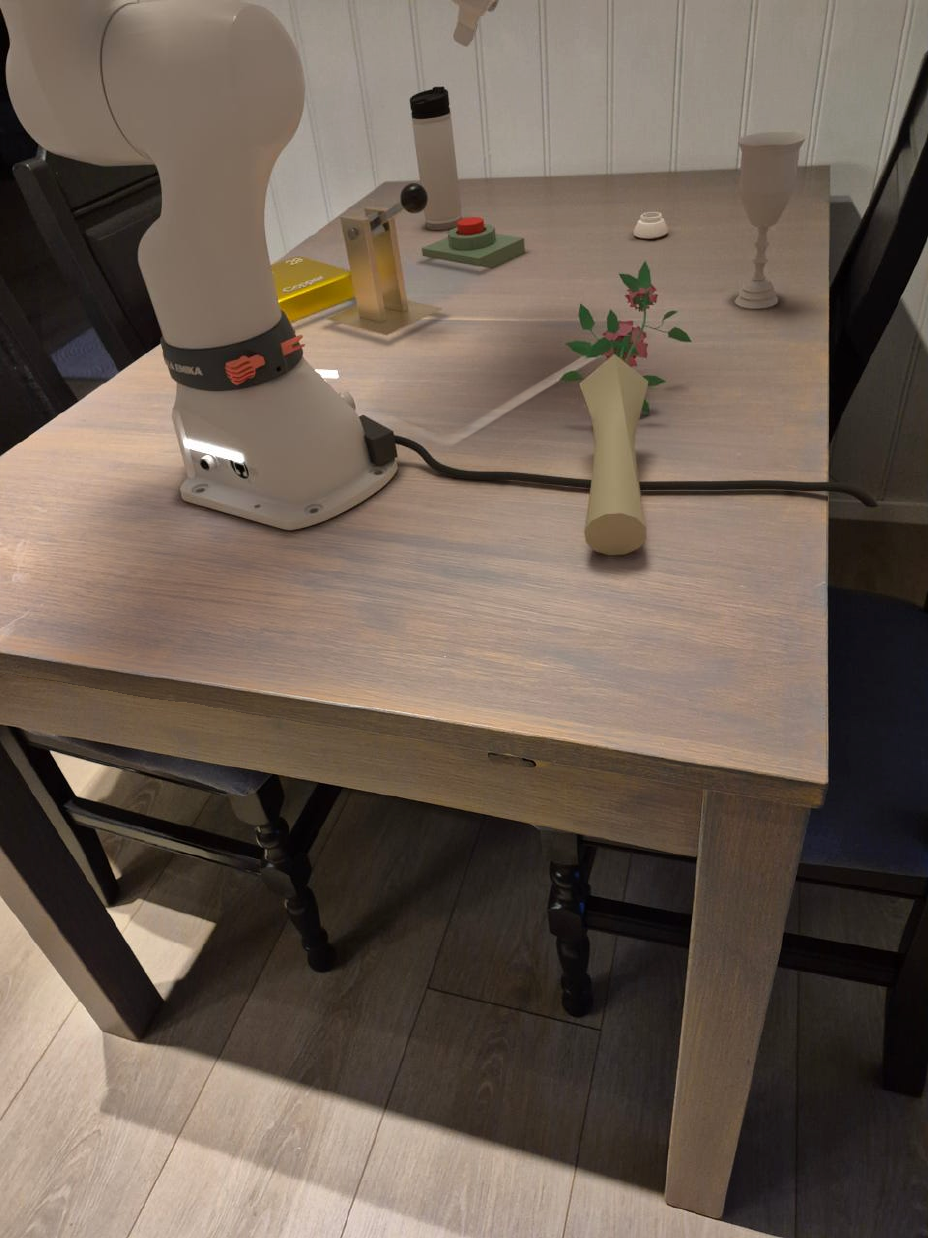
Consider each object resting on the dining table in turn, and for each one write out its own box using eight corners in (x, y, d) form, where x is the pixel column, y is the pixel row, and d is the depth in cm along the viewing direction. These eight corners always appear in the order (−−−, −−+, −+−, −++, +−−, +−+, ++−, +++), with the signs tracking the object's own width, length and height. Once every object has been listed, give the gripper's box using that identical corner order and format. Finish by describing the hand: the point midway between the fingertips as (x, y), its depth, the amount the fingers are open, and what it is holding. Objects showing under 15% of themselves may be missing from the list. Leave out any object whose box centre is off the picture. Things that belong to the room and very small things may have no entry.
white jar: (649, 242, 131) (674, 233, 133) (650, 221, 129) (675, 212, 131) (626, 236, 135) (651, 228, 136) (626, 216, 133) (651, 207, 135)
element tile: (273, 337, 118) (264, 301, 115) (219, 315, 128) (209, 281, 125) (363, 302, 125) (356, 267, 122) (305, 283, 135) (298, 250, 132)
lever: (437, 203, 103) (425, 175, 102) (417, 210, 101) (405, 182, 100) (378, 240, 113) (367, 215, 112) (359, 247, 111) (348, 222, 110)
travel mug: (470, 219, 151) (456, 85, 139) (449, 231, 147) (433, 94, 135) (440, 218, 154) (424, 86, 142) (419, 229, 150) (400, 95, 138)
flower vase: (578, 613, 78) (584, 367, 99) (719, 584, 73) (693, 332, 94) (527, 526, 70) (545, 278, 91) (682, 487, 65) (662, 234, 86)
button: (490, 230, 133) (489, 218, 132) (472, 238, 131) (470, 226, 130) (470, 227, 135) (469, 215, 134) (452, 235, 133) (451, 223, 132)
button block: (525, 252, 134) (523, 224, 132) (480, 273, 129) (477, 245, 127) (467, 243, 141) (465, 216, 139) (423, 262, 136) (419, 235, 134)
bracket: (443, 316, 117) (428, 205, 109) (388, 343, 112) (368, 229, 103) (382, 302, 124) (364, 197, 116) (328, 327, 119) (305, 218, 110)
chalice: (797, 296, 109) (817, 132, 98) (770, 315, 105) (787, 147, 94) (743, 287, 113) (756, 130, 102) (715, 305, 110) (725, 144, 98)
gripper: (525, -181, 86) (475, -27, 97) (466, -122, 74) (416, 45, 85) (583, -146, 86) (526, 2, 98) (533, -82, 75) (475, 78, 86)
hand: (474, 23), depth 91 cm, fingers open, 8 cm apart
